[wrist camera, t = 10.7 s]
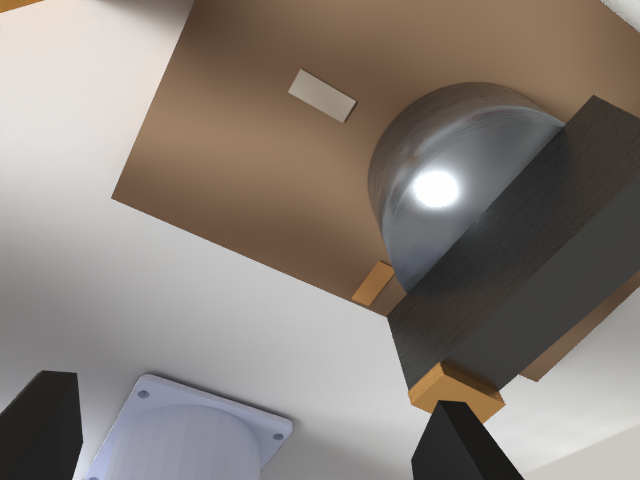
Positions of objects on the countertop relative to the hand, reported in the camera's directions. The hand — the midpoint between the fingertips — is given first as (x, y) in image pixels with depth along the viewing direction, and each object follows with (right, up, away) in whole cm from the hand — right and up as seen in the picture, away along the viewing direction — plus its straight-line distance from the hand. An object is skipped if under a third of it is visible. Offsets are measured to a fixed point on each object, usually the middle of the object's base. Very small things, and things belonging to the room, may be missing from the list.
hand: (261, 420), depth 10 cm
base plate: (+6, +7, +9) cm, 12 cm away
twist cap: (+6, +6, +7) cm, 11 cm away
